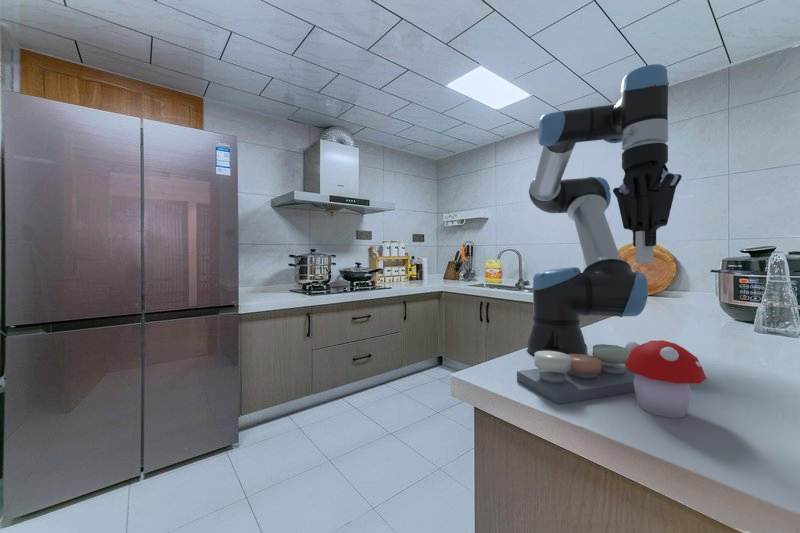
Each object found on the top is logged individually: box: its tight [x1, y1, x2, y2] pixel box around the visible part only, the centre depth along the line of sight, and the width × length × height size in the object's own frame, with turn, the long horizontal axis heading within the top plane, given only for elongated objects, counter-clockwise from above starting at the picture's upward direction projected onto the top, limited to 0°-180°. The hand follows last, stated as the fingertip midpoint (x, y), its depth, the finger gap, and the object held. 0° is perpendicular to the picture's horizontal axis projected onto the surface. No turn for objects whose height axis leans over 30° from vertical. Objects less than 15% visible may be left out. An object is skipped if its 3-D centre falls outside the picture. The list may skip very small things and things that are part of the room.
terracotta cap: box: [567, 354, 601, 375], centre depth 66 cm, size 7×7×2 cm
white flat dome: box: [533, 351, 571, 372], centre depth 64 cm, size 7×7×2 cm
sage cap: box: [592, 343, 630, 365], centre depth 68 cm, size 7×7×2 cm
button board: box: [516, 361, 636, 405], centre depth 66 cm, size 12×23×3 cm, turn 105°
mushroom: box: [624, 339, 707, 419], centre depth 55 cm, size 11×11×12 cm
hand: (644, 262), depth 66 cm, fingers closed
